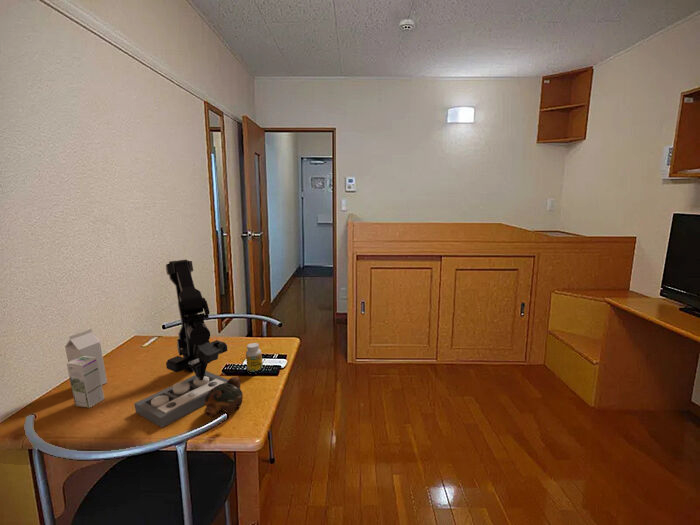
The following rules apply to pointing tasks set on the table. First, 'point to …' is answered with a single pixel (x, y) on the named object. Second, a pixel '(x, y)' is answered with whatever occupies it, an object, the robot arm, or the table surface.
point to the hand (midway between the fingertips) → (201, 379)
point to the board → (177, 401)
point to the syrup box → (85, 381)
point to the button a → (159, 401)
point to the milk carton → (86, 350)
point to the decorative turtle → (224, 397)
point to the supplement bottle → (253, 357)
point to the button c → (201, 381)
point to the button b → (181, 388)
